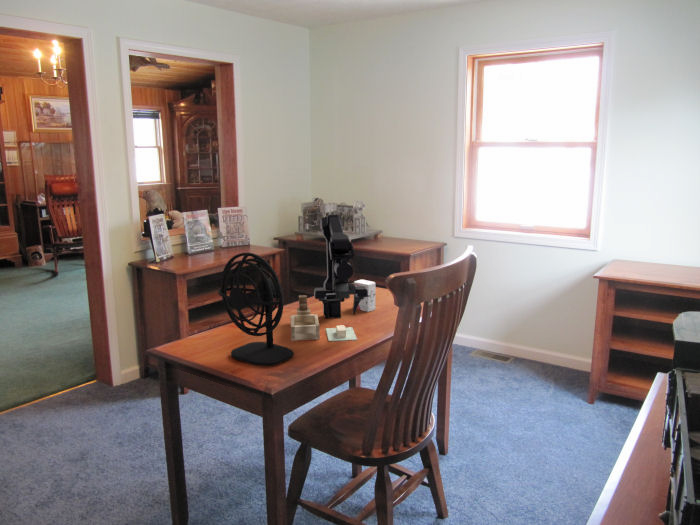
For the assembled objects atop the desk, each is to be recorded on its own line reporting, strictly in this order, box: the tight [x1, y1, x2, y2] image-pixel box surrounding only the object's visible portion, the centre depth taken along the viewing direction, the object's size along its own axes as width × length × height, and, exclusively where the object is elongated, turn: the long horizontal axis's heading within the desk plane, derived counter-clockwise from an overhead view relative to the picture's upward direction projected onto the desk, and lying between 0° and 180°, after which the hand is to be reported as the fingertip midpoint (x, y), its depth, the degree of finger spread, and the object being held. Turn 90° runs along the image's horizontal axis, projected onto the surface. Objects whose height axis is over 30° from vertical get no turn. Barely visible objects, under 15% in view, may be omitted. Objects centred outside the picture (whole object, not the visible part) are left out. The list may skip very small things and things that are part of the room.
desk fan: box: [217, 252, 295, 367], centre depth 179 cm, size 27×18×35 cm, turn 54°
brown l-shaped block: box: [298, 294, 308, 310], centre depth 216 cm, size 3×7×4 cm, turn 7°
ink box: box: [353, 279, 376, 313], centre depth 234 cm, size 9×5×12 cm, turn 47°
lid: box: [325, 324, 358, 342], centre depth 203 cm, size 10×14×4 cm
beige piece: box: [290, 306, 321, 341], centre depth 207 cm, size 10×20×6 cm, turn 7°
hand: (341, 315), depth 201 cm, fingers open, 9 cm apart
